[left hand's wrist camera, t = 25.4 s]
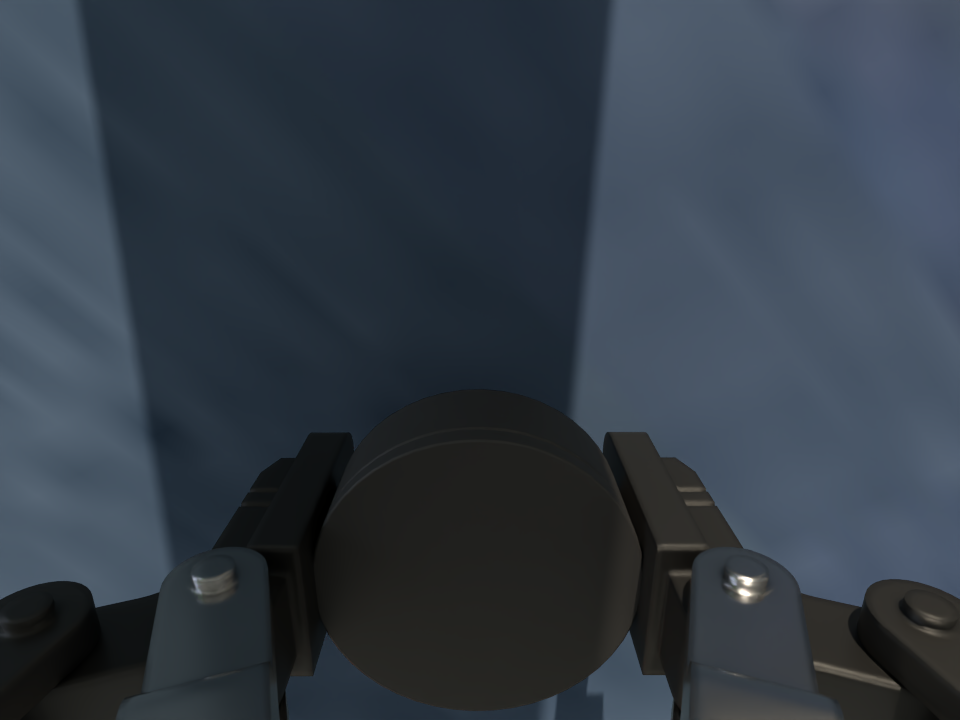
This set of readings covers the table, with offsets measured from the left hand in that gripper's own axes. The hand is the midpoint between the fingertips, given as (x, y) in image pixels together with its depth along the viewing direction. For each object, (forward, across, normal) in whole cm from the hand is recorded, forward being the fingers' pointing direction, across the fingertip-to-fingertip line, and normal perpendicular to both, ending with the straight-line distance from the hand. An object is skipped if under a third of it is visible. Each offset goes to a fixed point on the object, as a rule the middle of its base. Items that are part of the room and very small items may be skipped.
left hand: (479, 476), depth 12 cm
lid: (-3, 0, 0) cm, 3 cm away
